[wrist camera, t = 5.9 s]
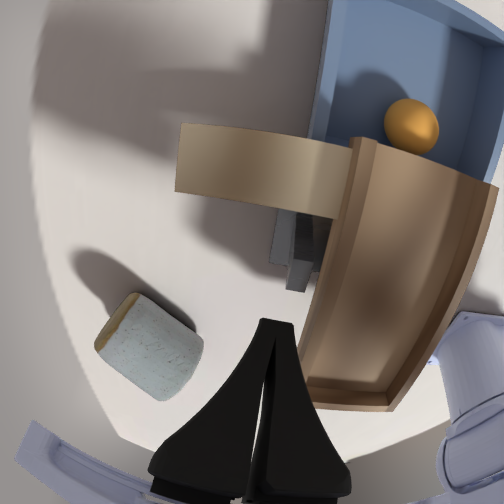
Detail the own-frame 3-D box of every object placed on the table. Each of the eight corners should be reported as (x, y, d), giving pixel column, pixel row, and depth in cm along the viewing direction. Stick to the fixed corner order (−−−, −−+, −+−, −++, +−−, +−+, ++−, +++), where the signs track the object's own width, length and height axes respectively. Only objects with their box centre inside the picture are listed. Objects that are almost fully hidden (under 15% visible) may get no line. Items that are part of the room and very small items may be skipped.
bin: (487, 43, 8) (519, 44, 5) (455, 183, 14) (480, 207, 11) (330, -21, 9) (337, -43, 6) (306, 140, 15) (307, 156, 12)
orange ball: (446, 161, 10) (420, 163, 13) (450, 104, 10) (425, 115, 13) (393, 142, 11) (373, 149, 13) (398, 83, 10) (379, 99, 13)
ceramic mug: (142, 272, 23) (99, 341, 17) (214, 326, 26) (189, 398, 20) (107, 316, 29) (76, 368, 23) (163, 355, 31) (140, 409, 25)
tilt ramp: (450, 172, 13) (499, 188, 8) (379, 363, 18) (392, 411, 14) (206, 116, 14) (171, 108, 9) (189, 332, 19) (166, 379, 15)
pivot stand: (452, 217, 16) (487, 264, 11) (419, 283, 19) (438, 335, 15) (284, 175, 16) (276, 217, 12) (270, 255, 20) (259, 311, 16)
